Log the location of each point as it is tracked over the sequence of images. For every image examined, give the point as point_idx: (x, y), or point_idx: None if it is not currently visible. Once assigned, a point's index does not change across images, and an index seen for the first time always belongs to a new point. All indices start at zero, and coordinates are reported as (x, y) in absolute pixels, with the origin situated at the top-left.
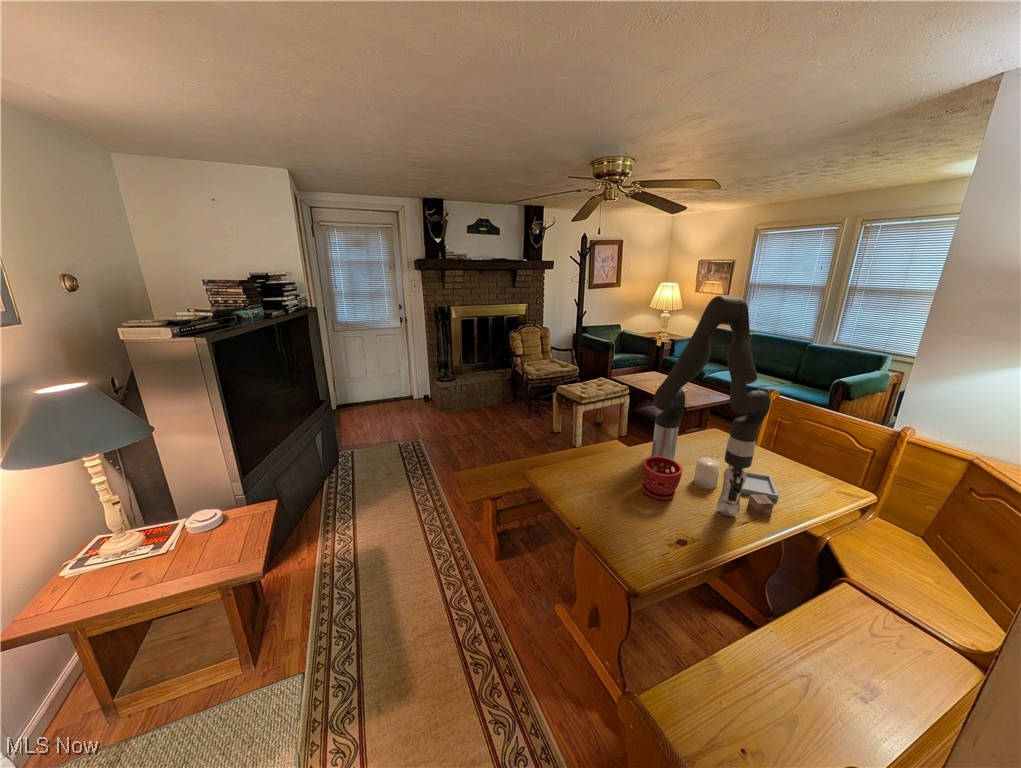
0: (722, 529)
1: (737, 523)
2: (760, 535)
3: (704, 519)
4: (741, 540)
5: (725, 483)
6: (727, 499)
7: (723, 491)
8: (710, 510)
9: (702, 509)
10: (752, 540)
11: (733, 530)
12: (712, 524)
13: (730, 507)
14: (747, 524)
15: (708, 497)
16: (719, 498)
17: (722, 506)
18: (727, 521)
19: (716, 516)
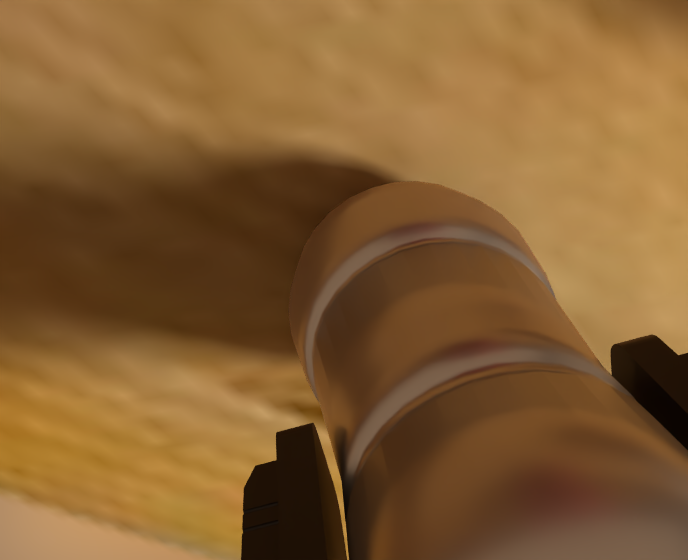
0: (64, 288)
1: (285, 377)
2: (229, 539)
3: (105, 81)
4: (25, 450)
5: (420, 549)
6: (325, 396)
7: (403, 372)
8: (357, 103)
9: (317, 9)
10: (103, 510)
11: (133, 371)
12: (74, 183)
13: (309, 382)
14: (329, 442)
15: (649, 19)
16: (428, 236)
17: (306, 284)
18: (254, 299)
19: (273, 188)
